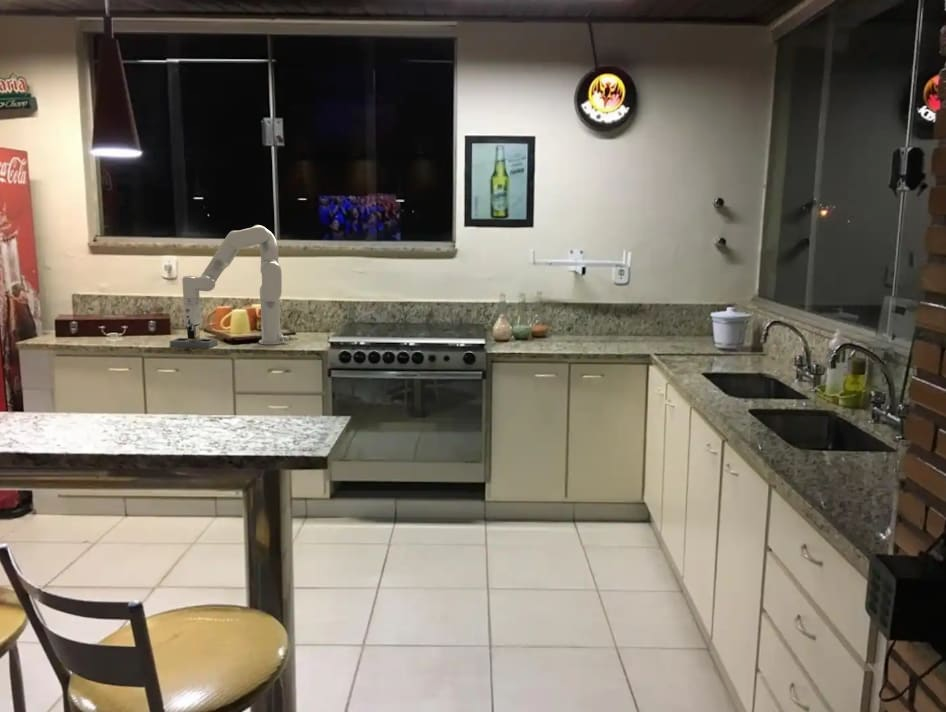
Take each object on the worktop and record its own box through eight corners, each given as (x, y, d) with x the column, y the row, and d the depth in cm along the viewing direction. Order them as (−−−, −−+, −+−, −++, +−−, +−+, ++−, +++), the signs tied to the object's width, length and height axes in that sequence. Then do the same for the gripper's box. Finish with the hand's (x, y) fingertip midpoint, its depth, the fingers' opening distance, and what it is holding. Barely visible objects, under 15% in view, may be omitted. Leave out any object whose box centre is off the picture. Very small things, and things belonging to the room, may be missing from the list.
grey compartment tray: (217, 344, 388) (217, 338, 387) (209, 348, 378) (209, 342, 377) (179, 343, 389) (179, 337, 389) (170, 347, 379) (169, 341, 379)
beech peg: (199, 345, 385) (199, 325, 384) (196, 346, 381) (195, 326, 380) (192, 345, 386) (191, 325, 384) (188, 346, 382) (187, 326, 380)
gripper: (191, 303, 370) (193, 340, 374) (206, 299, 387) (208, 334, 391) (176, 303, 371) (178, 340, 375) (192, 299, 388) (194, 334, 391)
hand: (193, 337), depth 383 cm, fingers open, 5 cm apart
